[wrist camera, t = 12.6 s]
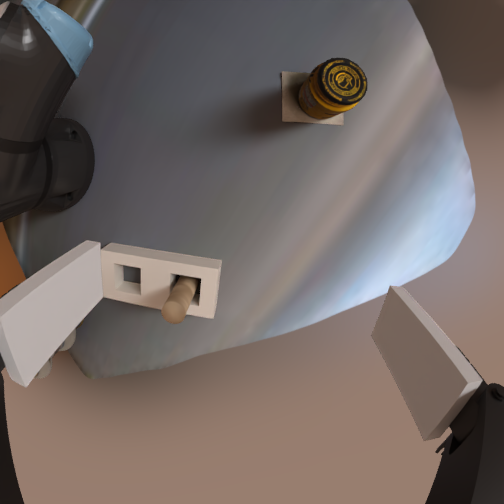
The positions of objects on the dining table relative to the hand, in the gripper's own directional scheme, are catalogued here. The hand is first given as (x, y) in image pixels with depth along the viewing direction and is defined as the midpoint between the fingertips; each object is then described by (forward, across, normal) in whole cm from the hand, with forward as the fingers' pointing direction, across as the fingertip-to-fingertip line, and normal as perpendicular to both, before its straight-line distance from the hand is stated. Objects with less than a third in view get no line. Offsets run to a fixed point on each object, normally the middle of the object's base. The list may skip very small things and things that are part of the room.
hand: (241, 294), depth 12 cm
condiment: (+29, +6, +15) cm, 33 cm away
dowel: (+29, -8, -14) cm, 33 cm away
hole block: (+29, -12, -14) cm, 34 cm away
